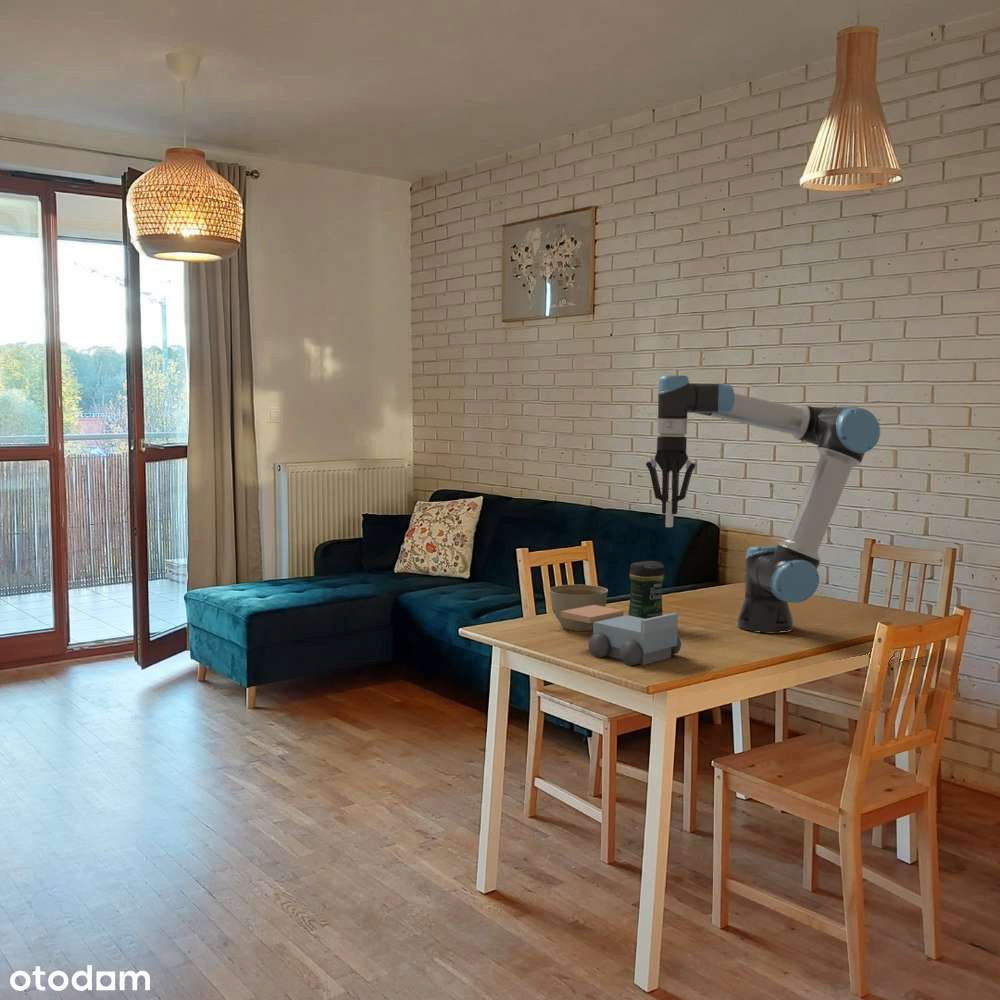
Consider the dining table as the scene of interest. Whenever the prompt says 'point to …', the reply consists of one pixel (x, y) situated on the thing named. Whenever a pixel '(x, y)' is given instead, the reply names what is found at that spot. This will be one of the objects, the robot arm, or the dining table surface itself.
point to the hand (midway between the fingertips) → (669, 526)
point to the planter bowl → (576, 602)
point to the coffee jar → (646, 589)
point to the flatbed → (636, 638)
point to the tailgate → (592, 613)
